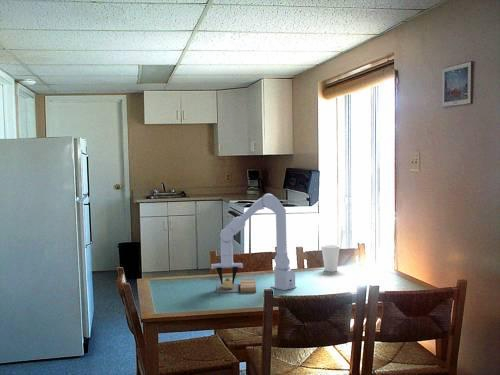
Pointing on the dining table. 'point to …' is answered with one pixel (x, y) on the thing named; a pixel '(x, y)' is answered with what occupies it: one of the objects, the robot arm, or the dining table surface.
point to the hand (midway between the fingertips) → (227, 283)
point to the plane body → (247, 286)
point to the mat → (229, 290)
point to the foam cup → (330, 256)
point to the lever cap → (227, 283)
